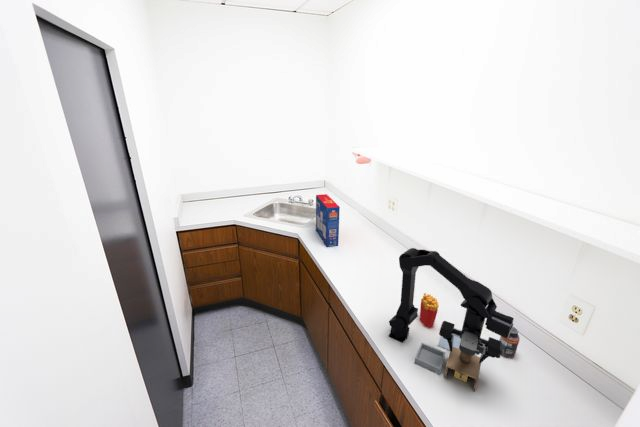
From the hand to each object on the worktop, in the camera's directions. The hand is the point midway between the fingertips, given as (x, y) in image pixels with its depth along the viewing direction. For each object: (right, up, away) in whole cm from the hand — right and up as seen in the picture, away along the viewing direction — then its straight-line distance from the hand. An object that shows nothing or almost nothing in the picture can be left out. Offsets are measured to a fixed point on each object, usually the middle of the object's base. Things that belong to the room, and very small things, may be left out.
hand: (465, 356), depth 103 cm
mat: (+6, -2, +16) cm, 17 cm away
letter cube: (-1, -7, +1) cm, 7 cm away
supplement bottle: (+21, -4, +11) cm, 24 cm away
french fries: (-4, +2, +26) cm, 27 cm away
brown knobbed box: (0, -7, +2) cm, 7 cm away
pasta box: (-46, +33, +105) cm, 120 cm away
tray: (-10, -5, +7) cm, 13 cm away
